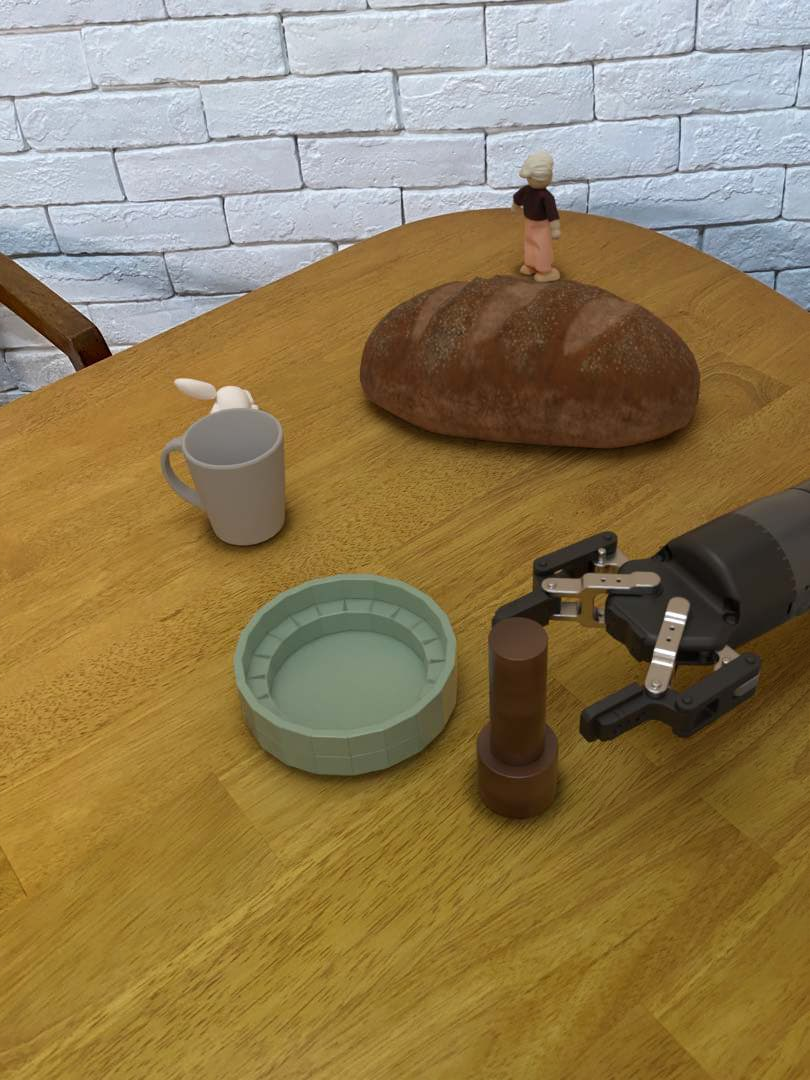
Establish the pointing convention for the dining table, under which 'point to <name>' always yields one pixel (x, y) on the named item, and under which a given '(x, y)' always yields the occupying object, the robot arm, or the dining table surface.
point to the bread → (531, 365)
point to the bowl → (347, 673)
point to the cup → (234, 473)
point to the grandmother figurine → (538, 217)
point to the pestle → (517, 723)
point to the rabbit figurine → (216, 394)
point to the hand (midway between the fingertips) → (537, 678)
